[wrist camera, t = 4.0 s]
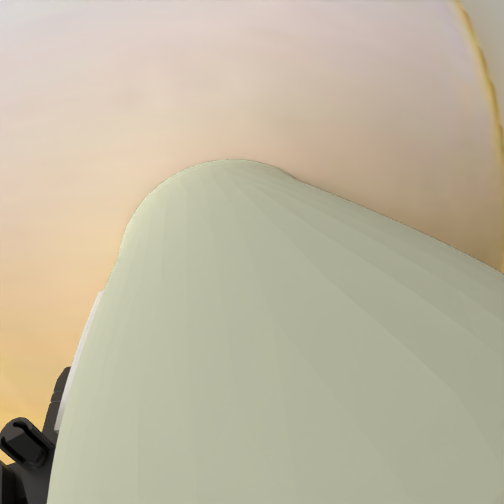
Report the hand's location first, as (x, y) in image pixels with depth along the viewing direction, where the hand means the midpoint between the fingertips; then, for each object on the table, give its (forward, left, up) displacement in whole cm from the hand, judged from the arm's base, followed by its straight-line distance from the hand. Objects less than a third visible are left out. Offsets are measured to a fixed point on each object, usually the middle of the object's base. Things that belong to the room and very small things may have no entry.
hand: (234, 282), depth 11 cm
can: (0, 0, -1) cm, 1 cm away
